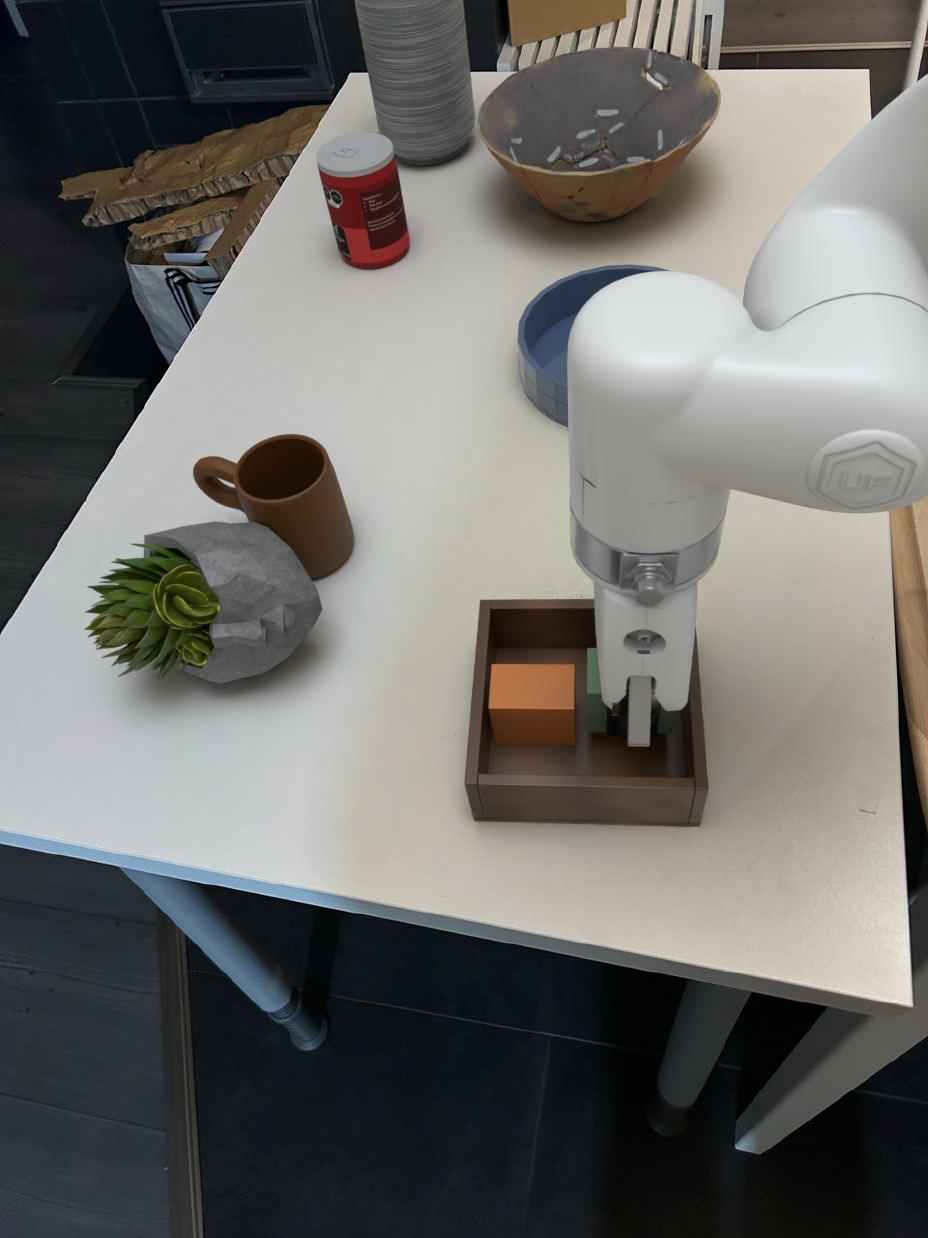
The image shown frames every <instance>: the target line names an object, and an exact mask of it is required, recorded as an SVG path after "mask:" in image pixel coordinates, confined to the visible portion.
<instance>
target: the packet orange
mask: <svg viewBox="0 0 928 1238" xmlns="http://www.w3.org/2000/svg"><path fill="white" fill-rule="evenodd" d="M489 714H490V719H491V724H492V730H493V735H494V740H495V744H502V745H563V746H575V745H576V684H575V665H574V664H492V666H491V680H490V694H489Z"/></svg>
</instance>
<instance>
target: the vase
mask: <svg viewBox="0 0 928 1238" xmlns="http://www.w3.org/2000/svg"><path fill="white" fill-rule="evenodd" d="M353 1H354V6H355V12H356V16H357V22H358V28H359V32H360V38H361V43H362V48H363V54H364V60H365V64H366V65H365V66H366V69H367V75H368V80H369V85H370V90H371V97H372V101H373V106H374V112H375V117H376V122H377V123H376V124H377V128H378V134H381V135H383V136H385V137H387V138H388V139H389V140H391V142H392V144H393V148H394V152H395V157H396V158H397V159H399V161H401V162H403V163H405V164H407V165H411V166H418V167H426V166H434V165H439V164H442V163H445V162H449V161H450V160H452V159H454V158H455V157H457V156H458V155H459V154H461V152H462V151H463V150H464V149H465V146H466V143H467V142H468V140H469V139H470V138H471V136H472V134H473V131H474V128H475V125H476V112H475V101H474V93H473V84H472V83H473V82H472V73H471V72H472V71H471V63H470V53H469V45H468V36H467V35H468V34H467V26H466V16H465V6H464V0H353Z"/></svg>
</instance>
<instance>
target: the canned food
mask: <svg viewBox="0 0 928 1238" xmlns="http://www.w3.org/2000/svg"><path fill="white" fill-rule="evenodd" d="M315 158H316V164H317V170H318V173H319V174H318V175H319V178H320V182H321V186H322V190H323V195H324V198H325V202H326V206H327V209H328V215H329V217H330V222H331V226H332V229H333V234H334V237H335V241H336V245H337V249H338V252H339V254H340V256H341V257H342V259H343V260H344V261H345V262H346V263H347V264H349V265H350V266H353V267H354V268H359V269H367V270H371V269H373V270H374V269H380V268H385V267H387V266H390V265H392V264H393V265H394V264H395V263H397V262H398V261H399V260H400V259H402V258H403V257H404V256H405V255H406V254H407V252H408V250H409V247H410V231H409V227H408V221H407V216H406V215H407V214H406V208H405V203H404V198H403V192H402V186H401V180H400V174H399V168H398V162H397V156H396V154H395V152H394V148H393V144H392V142H391V140H389V139H388V138H387V137H385V136H383V135H381V134H379V132H378V133H377V132H371V131H370V132H369V131H362V132H361V131H358V132H357V131H356V132H350V133H345V134H342V135H339V136H337V137H334V138H332V139H330V140H328V141H327V142H325V143H324V144H322V146H321V147H320V148H319V149H318V150H317V152H316V157H315Z"/></svg>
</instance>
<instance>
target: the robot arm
mask: <svg viewBox="0 0 928 1238" xmlns="http://www.w3.org/2000/svg"><path fill="white" fill-rule="evenodd" d="M743 288H744V289H743V296H742V298H743V299H742V300H743V301H742V302H741V300H740V299H739V298H738V296H736V295H735V294H734V293H733V292H732V291H731V290H729V288H727V287H726V286H723V285H721V284H719V283H718V282H716V281H713V280H711V279H708V278H706V277H703V276H702V275H701V276H700V275H698V274H694V273H689V272H684V271H683V272H682V271H676V270H675V271H674V270H670V271H655V272H646V273H640V274H636V275H632V276H629V277H626V278H623V279H620V280H618V281H615V282H613V283H611V284H609V285H607V286H606V287H604V288H602V289H601V290H599V291H598V292H597V293H595V294H594V295H593V296H592V297H591V298H590V299H589V300H588V301H587V302H586V303H585V305H584V306H583V307H582V308H581V310H580V311H579V313H578V314H577V316H576V318H575V320H574V323H573V326H572V329H571V331H570V335H569V340H568V357H567V372H568V426H567V427H568V428H567V429H568V432H567V433H568V467H569V469H568V471H569V474H568V479H569V480H568V483H569V543H570V549H571V552H572V553H571V554H572V556H573V558H574V559H575V562H576V564H577V566H578V567H579V569H581V571H582V572H583V573H584V574H585V575H586V576H587V577H588V578H589V579H590V580H591V581H593V599H594V607H595V628H596V641H597V653H598V664H599V674H600V683H601V692H602V701H603V702H604V703H605V704H606V705H607V719H606V734H607V735H608V736H618V737H620V738H621V739H623V740H627V745H628V746H644V747H649V745H650V737H654V736H656V735H657V729H658V722H659V714H660V707H661V706H662V707H663V708H664V709H665V710H666V711H677V710H681V709H683V708H684V706H685V705H686V704H687V702H688V693H689V683H690V674H691V665H692V656H693V647H694V637H695V626H696V627H697V611H698V609H697V608H698V589H699V588H698V587H699V582H700V581H701V580H702V579H703V578H704V577H705V576H706V575H707V574H708V573H709V572H710V571H711V569H712V568H713V566H714V565H715V563H716V561H717V558H718V555H719V551H720V546H721V542H722V536H723V531H724V526H725V519H726V516H727V510H728V505H729V500H730V494H731V490H732V491H737V492H741V493H745V494H749V495H754V496H758V497H762V498H766V499H770V500H774V501H778V502H782V503H787V504H790V505H794V506H798V507H799V506H800V507H804V508H808V509H813V510H820V511H825V512H832V513H843V514H857V515H858V514H861V515H862V514H874V513H883V512H885V513H886V512H890V511H894V510H898V509H902V508H906V507H908V506H910V505H913V504H915V503H917V502H920V501H921V500H924V499H925V498H927V497H928V73H927V74H925V75H924V76H923V77H921V78H920V79H918V80H917V81H916V82H915V83H913V84H912V85H910V86H909V87H907V88H906V89H905V90H904V91H902V92H901V93H900V94H899V95H898V96H896V98H894V99H893V100H892V101H891V102H890V103H888V104H887V105H886V106H884V107H883V109H881V110H880V111H879V112H878V113H877V114H876V115H875V116H874V117H873V118H872V119H871V120H870V121H869V122H868V123H867V124H866V125H865V126H864V127H863V128H862V129H861V130H860V131H859V132H858V133H857V134H856V135H855V136H854V137H853V138H852V139H851V140H850V141H849V142H848V143H847V144H846V146H845V147H844V148H842V149H841V150H840V152H839V153H838V154H836V156H835V157H834V158H833V159H832V160H831V161H830V162H829V163H828V164H827V165H826V166H825V167H824V169H822V170H821V172H819V174H817V176H816V177H815V178H813V180H812V181H811V182H810V183H809V184H808V185H807V187H806V188H804V190H803V191H802V192H801V193H800V194H799V195H798V196H797V197H796V198H795V200H793V202H792V203H791V204H790V205H789V206H788V208H787V209H786V210H785V211H784V212H783V214H782V215H781V216H780V217H779V219H778V220H777V221H776V223H775V224H774V225H773V227H772V228H771V229H770V231H769V232H768V233H767V234H766V237H765V238H764V240H763V241H762V243H761V245H760V247H759V249H758V250H757V251H756V254H755V255H754V258H753V260H752V262H751V264H750V267H749V270H748V273H747V276H746V278H745V283H744V287H743ZM626 693H628V694H626Z"/></svg>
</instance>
